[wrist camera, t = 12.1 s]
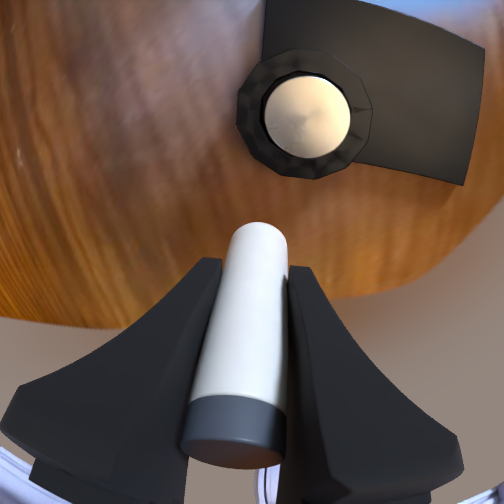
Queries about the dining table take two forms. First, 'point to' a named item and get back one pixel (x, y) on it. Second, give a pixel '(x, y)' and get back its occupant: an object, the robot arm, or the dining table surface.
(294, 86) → the button
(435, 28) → the dark fan-shaped plate
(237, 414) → the white grey-capped cylinder
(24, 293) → the dining table surface
